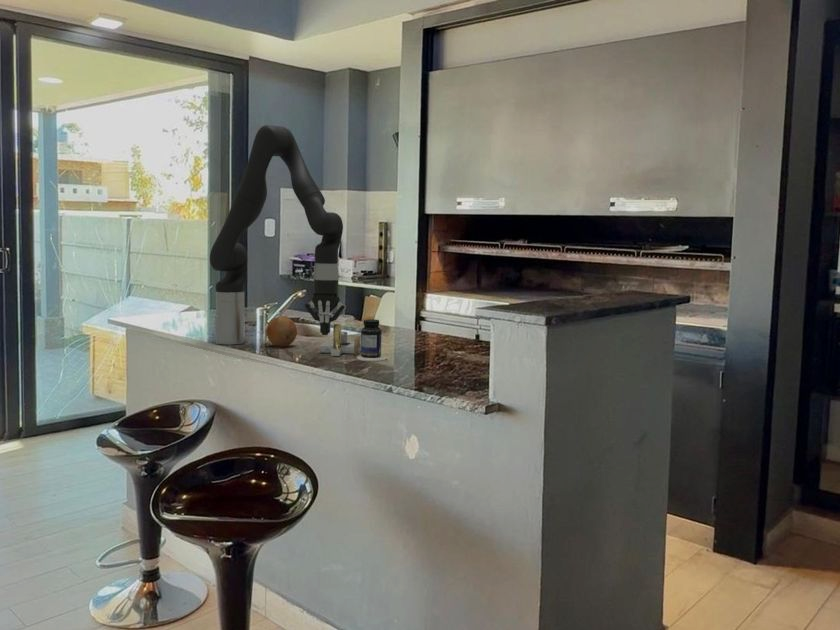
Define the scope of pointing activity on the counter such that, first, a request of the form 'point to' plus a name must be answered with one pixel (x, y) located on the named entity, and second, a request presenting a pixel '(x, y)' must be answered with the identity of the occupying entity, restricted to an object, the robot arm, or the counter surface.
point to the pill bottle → (371, 339)
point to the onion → (281, 331)
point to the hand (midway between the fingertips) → (325, 334)
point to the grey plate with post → (337, 344)
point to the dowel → (356, 345)
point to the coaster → (372, 358)
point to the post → (343, 338)
